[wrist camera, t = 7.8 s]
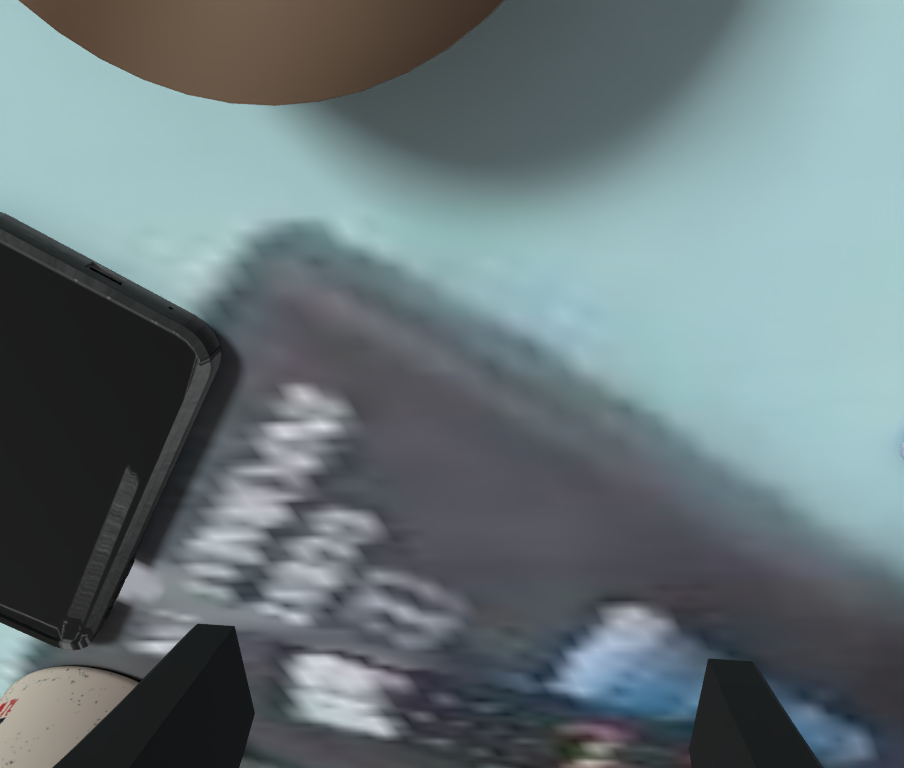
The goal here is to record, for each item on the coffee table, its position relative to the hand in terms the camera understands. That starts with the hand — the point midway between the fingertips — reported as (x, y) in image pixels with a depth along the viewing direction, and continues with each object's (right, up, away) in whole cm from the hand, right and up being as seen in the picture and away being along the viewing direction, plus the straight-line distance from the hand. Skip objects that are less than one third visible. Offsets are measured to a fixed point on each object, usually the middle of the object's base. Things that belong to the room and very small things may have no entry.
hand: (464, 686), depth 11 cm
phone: (-13, +3, +12) cm, 18 cm away
